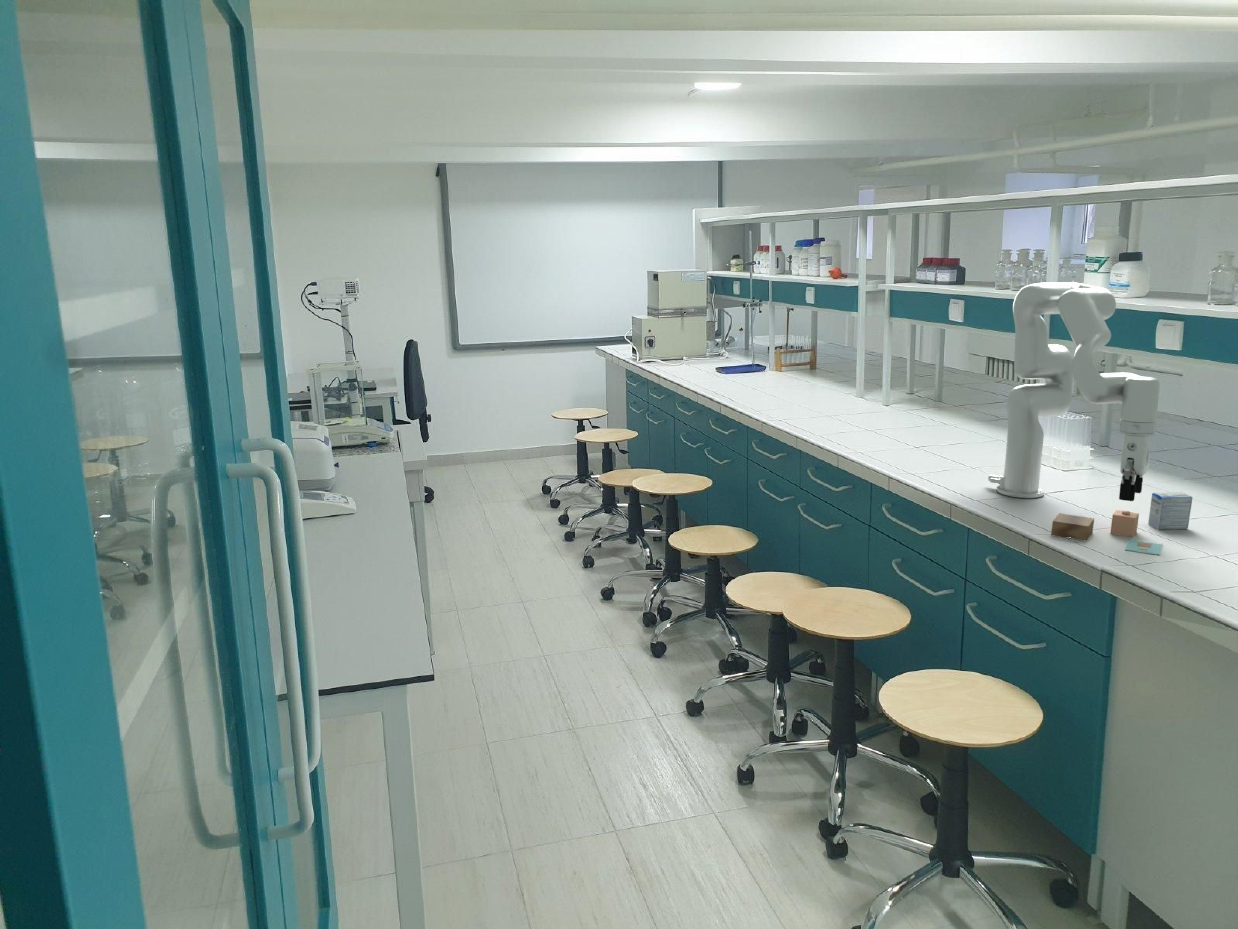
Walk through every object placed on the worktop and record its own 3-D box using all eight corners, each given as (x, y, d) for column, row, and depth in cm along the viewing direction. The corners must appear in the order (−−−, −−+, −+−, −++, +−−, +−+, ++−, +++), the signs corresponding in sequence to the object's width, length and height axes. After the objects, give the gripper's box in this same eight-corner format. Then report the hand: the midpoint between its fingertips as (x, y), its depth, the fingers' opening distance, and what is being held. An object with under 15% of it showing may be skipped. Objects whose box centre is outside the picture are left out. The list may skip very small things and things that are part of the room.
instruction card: (1125, 550, 215) (1125, 549, 215) (1128, 540, 222) (1128, 538, 222) (1159, 555, 211) (1159, 554, 211) (1161, 544, 219) (1162, 543, 219)
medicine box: (1177, 524, 235) (1182, 491, 233) (1188, 529, 230) (1193, 496, 228) (1147, 524, 235) (1151, 492, 232) (1157, 530, 230) (1162, 496, 228)
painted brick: (1110, 533, 228) (1112, 512, 226) (1114, 528, 232) (1116, 507, 230) (1132, 537, 225) (1135, 515, 223) (1136, 532, 229) (1139, 511, 227)
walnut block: (1051, 536, 227) (1052, 520, 226) (1057, 528, 233) (1059, 513, 232) (1086, 542, 222) (1088, 526, 221) (1092, 533, 229) (1094, 518, 228)
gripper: (1148, 434, 213) (1141, 505, 216) (1160, 424, 226) (1153, 491, 230) (1112, 431, 217) (1106, 501, 221) (1126, 421, 231) (1120, 487, 234)
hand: (1130, 496), depth 225 cm, fingers open, 9 cm apart
